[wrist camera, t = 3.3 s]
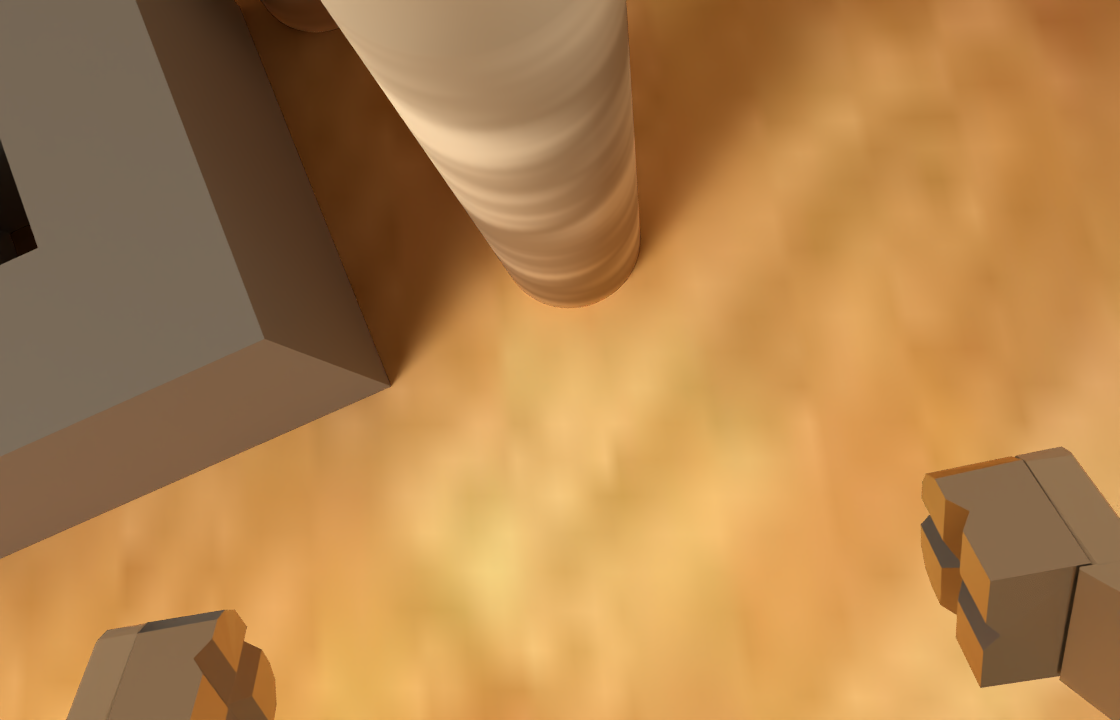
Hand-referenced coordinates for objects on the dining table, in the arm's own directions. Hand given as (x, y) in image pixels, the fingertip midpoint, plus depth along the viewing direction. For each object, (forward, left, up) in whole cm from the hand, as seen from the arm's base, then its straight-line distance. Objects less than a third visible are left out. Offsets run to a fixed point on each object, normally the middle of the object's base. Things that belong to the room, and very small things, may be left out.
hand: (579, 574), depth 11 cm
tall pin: (+2, +9, -18) cm, 20 cm away
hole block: (-12, +14, -18) cm, 26 cm away
